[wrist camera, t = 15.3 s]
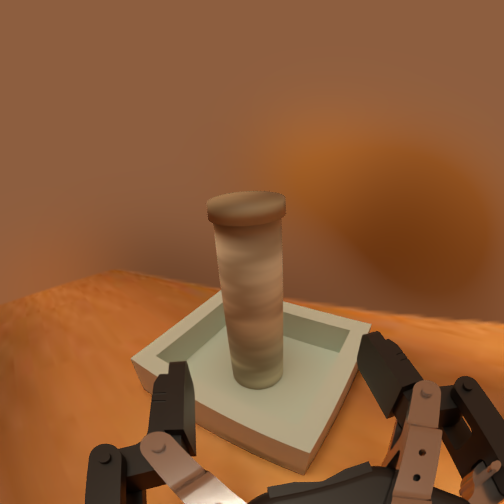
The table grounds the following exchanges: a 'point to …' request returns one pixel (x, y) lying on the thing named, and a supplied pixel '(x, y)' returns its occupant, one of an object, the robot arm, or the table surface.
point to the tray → (269, 399)
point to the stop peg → (251, 282)
